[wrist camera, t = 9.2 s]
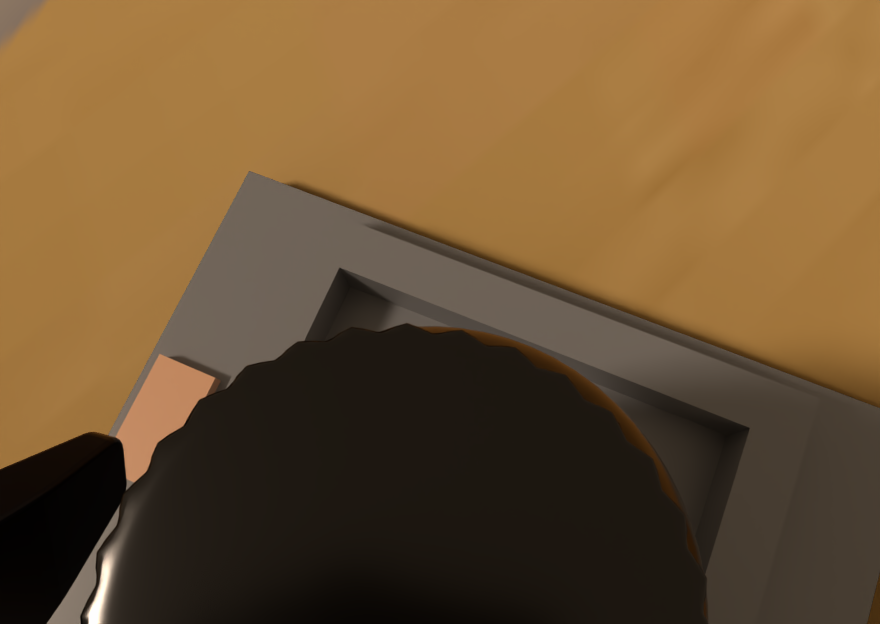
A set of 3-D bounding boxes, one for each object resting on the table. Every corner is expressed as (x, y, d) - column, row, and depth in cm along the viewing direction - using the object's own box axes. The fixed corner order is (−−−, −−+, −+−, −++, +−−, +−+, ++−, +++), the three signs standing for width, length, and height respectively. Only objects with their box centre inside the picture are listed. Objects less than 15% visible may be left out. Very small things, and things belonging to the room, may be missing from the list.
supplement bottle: (661, 580, 16) (1109, 729, 5) (431, 798, 15) (298, 1644, 4) (465, 357, 18) (446, 66, 6) (246, 540, 17) (-237, 585, 5)
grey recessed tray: (730, 1063, 15) (780, 1170, 12) (1, 677, 17) (-76, 704, 15) (893, 427, 18) (958, 413, 16) (259, 187, 21) (231, 143, 18)
